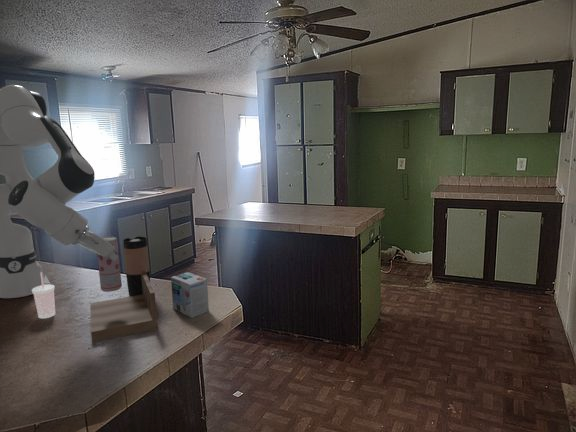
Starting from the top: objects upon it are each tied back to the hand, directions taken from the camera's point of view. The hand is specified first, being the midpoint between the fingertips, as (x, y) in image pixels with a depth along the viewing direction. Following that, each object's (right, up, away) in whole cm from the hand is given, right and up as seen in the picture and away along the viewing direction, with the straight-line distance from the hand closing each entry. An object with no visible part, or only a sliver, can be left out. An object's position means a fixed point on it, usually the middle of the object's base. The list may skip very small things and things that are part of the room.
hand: (110, 255), depth 121 cm
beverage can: (0, -10, +1) cm, 10 cm away
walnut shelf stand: (+2, -20, +5) cm, 20 cm away
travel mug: (0, -16, +25) cm, 29 cm away
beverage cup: (-24, -20, +9) cm, 32 cm away
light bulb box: (+21, -18, +11) cm, 30 cm away
